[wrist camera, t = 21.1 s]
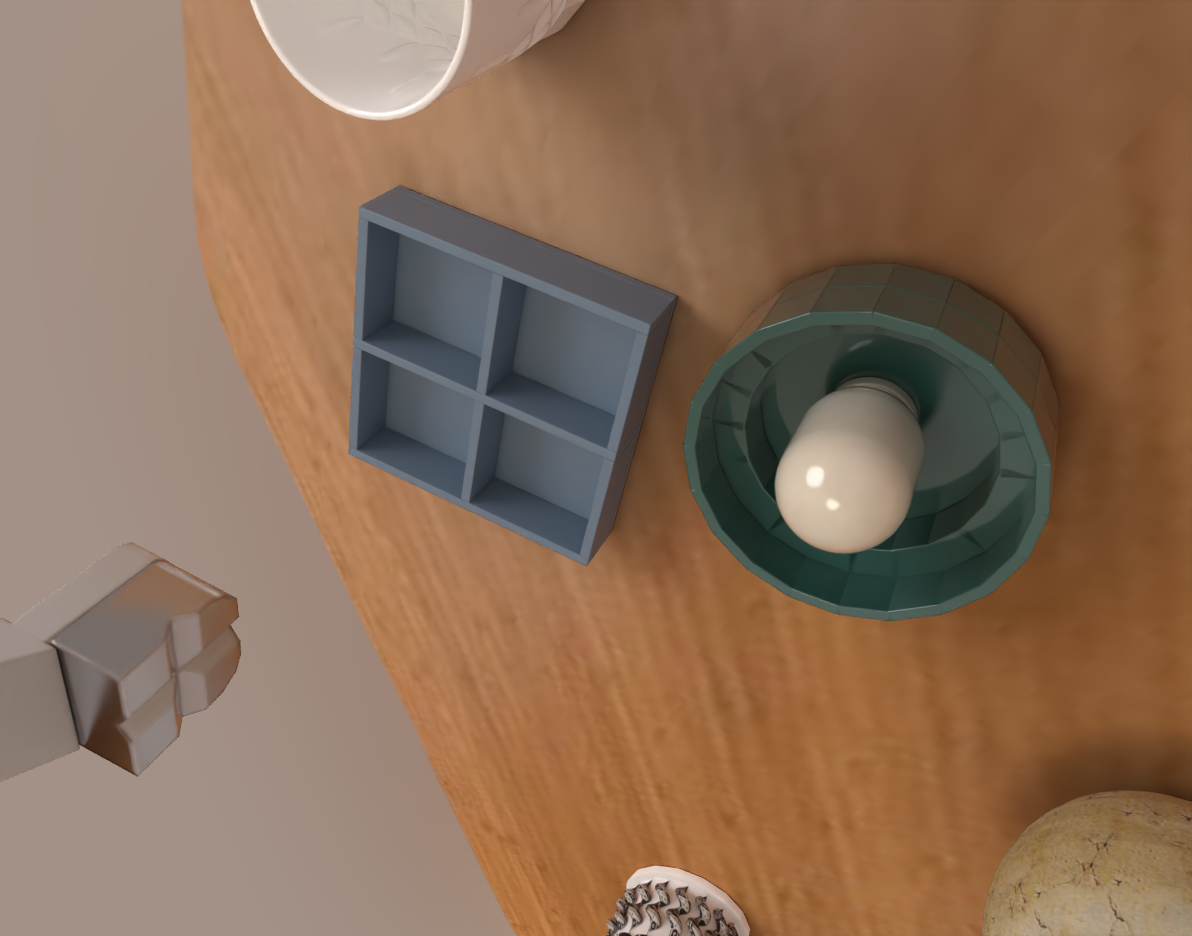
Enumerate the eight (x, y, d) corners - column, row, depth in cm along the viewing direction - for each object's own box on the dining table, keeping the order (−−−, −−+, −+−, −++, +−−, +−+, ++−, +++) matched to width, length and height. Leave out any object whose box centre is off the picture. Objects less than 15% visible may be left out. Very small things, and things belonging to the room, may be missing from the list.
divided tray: (398, 184, 43) (358, 206, 41) (677, 295, 40) (651, 325, 38) (382, 425, 52) (347, 454, 49) (611, 531, 49) (586, 567, 46)
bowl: (705, 264, 39) (660, 314, 35) (1066, 250, 33) (1058, 308, 29) (743, 532, 45) (708, 599, 42) (1052, 560, 40) (1044, 640, 36)
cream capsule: (806, 361, 39) (751, 459, 33) (933, 362, 37) (897, 467, 31) (816, 465, 41) (765, 573, 35) (936, 472, 39) (902, 588, 33)
